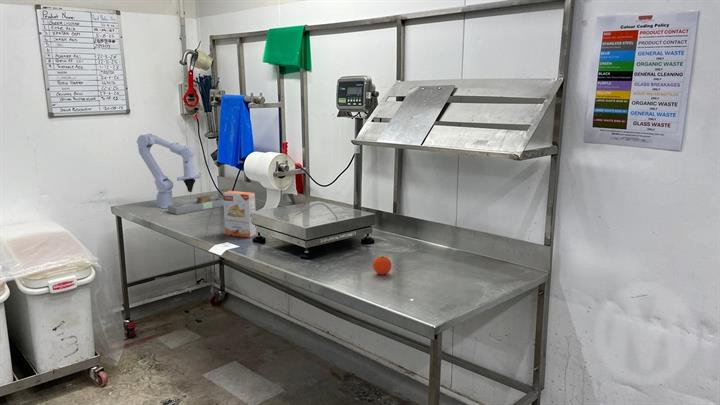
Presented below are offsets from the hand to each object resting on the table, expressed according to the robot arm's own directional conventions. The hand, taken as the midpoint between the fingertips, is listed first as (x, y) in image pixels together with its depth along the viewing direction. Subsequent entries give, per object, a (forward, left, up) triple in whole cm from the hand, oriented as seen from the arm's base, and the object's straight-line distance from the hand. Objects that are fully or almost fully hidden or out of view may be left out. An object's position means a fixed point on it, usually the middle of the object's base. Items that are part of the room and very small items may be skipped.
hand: (190, 191), depth 307 cm
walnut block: (+7, +4, -7) cm, 11 cm away
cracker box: (+73, -18, -10) cm, 76 cm away
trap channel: (+7, 0, -9) cm, 12 cm away
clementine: (+157, -15, -10) cm, 158 cm away
